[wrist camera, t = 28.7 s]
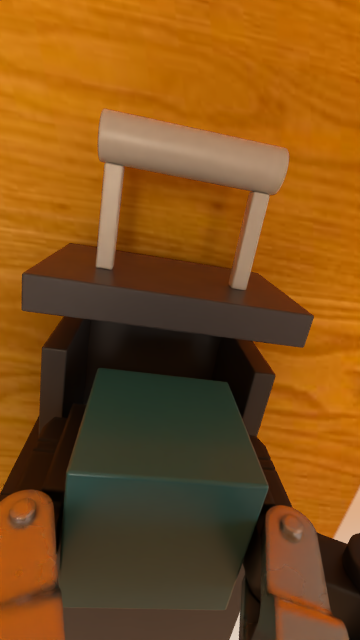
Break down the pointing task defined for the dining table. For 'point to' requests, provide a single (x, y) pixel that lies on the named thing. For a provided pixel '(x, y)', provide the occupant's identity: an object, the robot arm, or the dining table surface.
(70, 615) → the cabinet
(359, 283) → the dining table surface
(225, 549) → the block
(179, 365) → the drawer
